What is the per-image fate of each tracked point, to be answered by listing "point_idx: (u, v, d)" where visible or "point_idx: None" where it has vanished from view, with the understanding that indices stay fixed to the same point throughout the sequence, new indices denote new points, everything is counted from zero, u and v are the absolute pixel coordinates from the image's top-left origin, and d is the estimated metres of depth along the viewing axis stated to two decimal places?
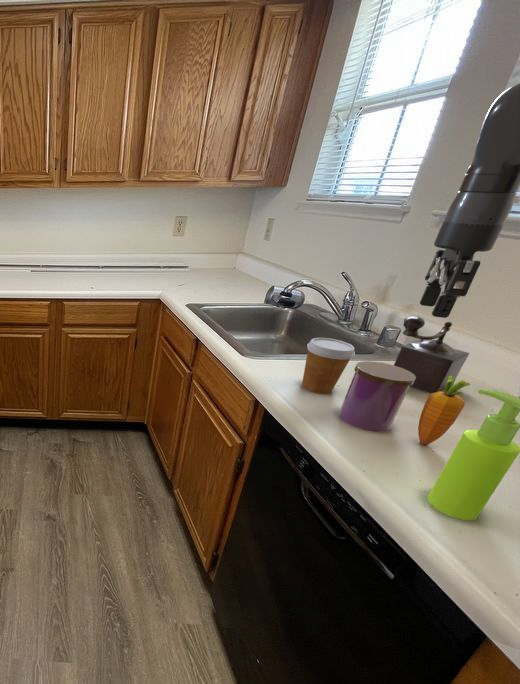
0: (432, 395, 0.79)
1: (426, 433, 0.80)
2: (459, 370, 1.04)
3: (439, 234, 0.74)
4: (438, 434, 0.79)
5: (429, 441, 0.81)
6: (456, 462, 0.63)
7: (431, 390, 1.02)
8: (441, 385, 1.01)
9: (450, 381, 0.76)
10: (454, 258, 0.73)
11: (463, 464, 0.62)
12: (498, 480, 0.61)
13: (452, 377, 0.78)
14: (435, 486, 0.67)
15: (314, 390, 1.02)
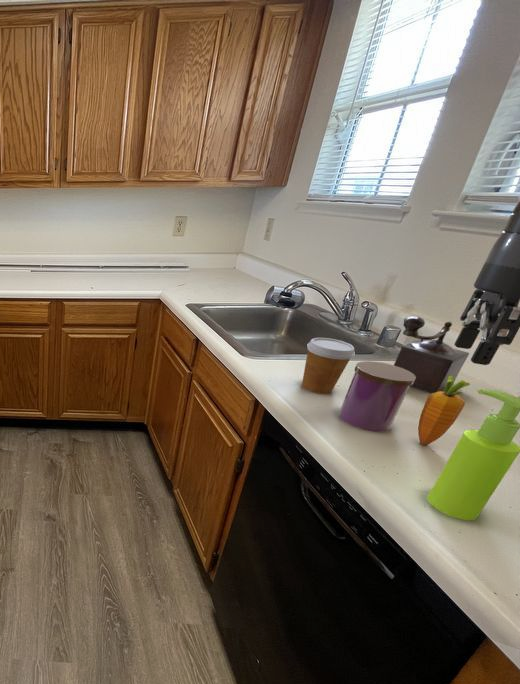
0: (432, 395, 0.79)
1: (426, 433, 0.80)
2: (459, 370, 1.04)
3: (480, 276, 0.69)
4: (438, 434, 0.79)
5: (429, 441, 0.81)
6: (456, 462, 0.63)
7: (431, 390, 1.02)
8: (441, 385, 1.01)
9: (450, 381, 0.76)
10: (497, 303, 0.68)
11: (463, 464, 0.62)
12: (498, 480, 0.61)
13: (452, 377, 0.78)
14: (435, 486, 0.67)
15: (314, 390, 1.02)
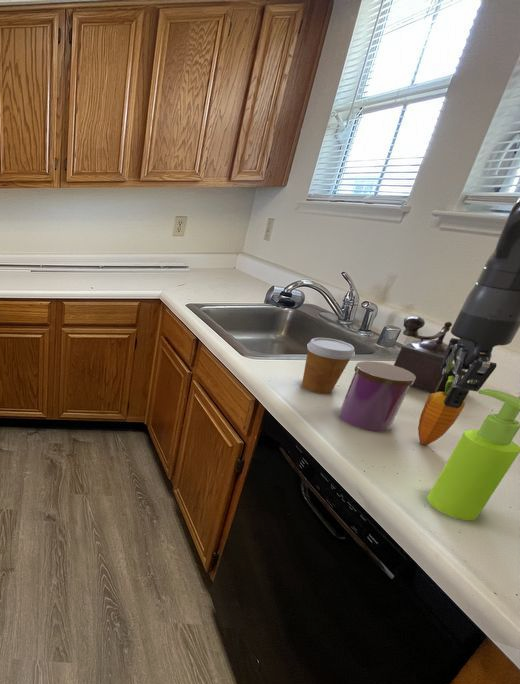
0: (432, 395, 0.79)
1: (426, 433, 0.80)
2: None
3: (456, 323, 0.73)
4: (438, 434, 0.79)
5: (429, 441, 0.81)
6: (456, 462, 0.63)
7: (431, 390, 1.02)
8: None
9: (450, 381, 0.76)
10: (471, 350, 0.72)
11: (463, 464, 0.62)
12: (498, 480, 0.61)
13: (452, 377, 0.78)
14: (435, 486, 0.67)
15: (314, 390, 1.02)
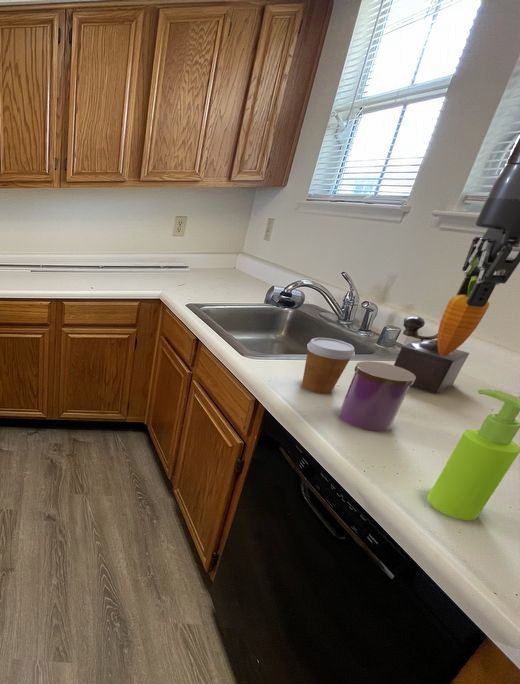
0: (453, 298, 0.73)
1: (446, 341, 0.75)
2: (459, 370, 1.04)
3: (482, 212, 0.68)
4: (459, 340, 0.74)
5: (449, 350, 0.76)
6: (456, 462, 0.63)
7: (431, 390, 1.02)
8: (441, 385, 1.01)
9: (474, 280, 0.71)
10: (499, 239, 0.66)
11: (463, 464, 0.62)
12: (498, 480, 0.61)
13: (475, 277, 0.72)
14: (435, 486, 0.67)
15: (314, 390, 1.02)
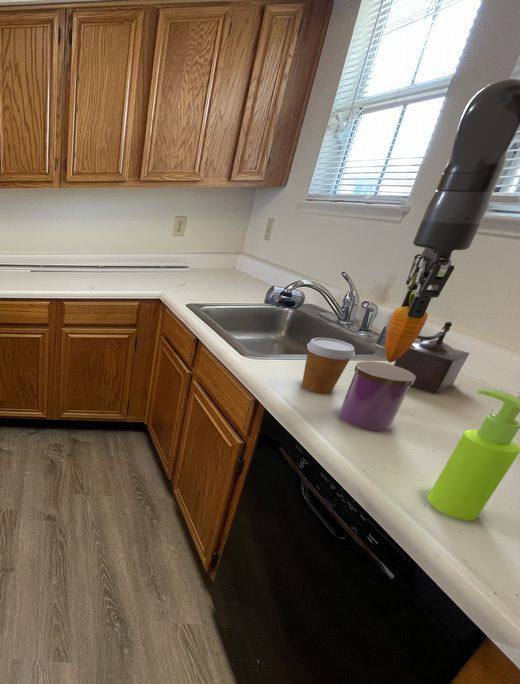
0: (397, 310, 0.81)
1: (392, 348, 0.82)
2: (459, 370, 1.04)
3: (418, 233, 0.75)
4: (403, 348, 0.81)
5: (395, 357, 0.83)
6: (456, 462, 0.63)
7: (431, 390, 1.02)
8: (441, 385, 1.01)
9: (413, 293, 0.78)
10: (432, 257, 0.73)
11: (463, 464, 0.62)
12: (498, 480, 0.61)
13: None
14: (435, 486, 0.67)
15: (314, 390, 1.02)
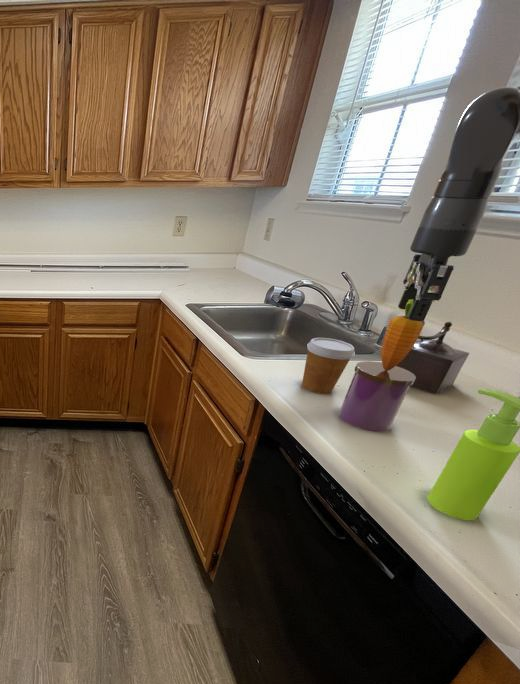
0: (393, 319, 0.81)
1: (388, 357, 0.83)
2: (459, 370, 1.04)
3: (415, 239, 0.75)
4: (399, 357, 0.82)
5: (391, 365, 0.84)
6: (456, 462, 0.63)
7: (431, 390, 1.02)
8: (441, 385, 1.01)
9: (409, 303, 0.79)
10: (428, 263, 0.74)
11: (463, 464, 0.62)
12: (498, 480, 0.61)
13: (412, 300, 0.80)
14: (435, 486, 0.67)
15: (314, 390, 1.02)
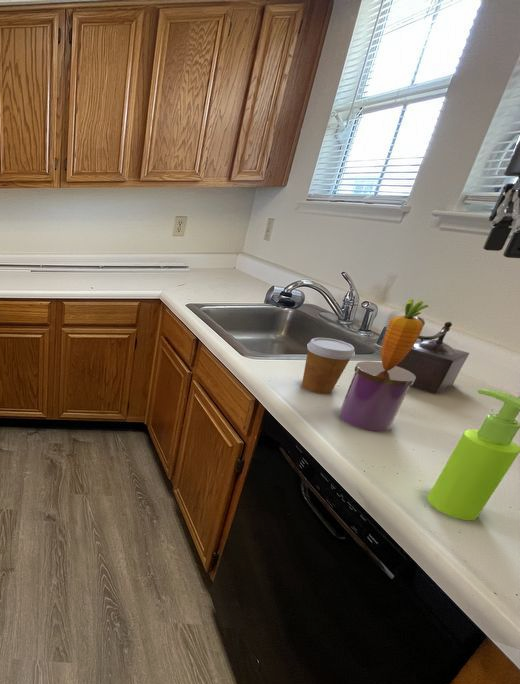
0: (393, 319, 0.81)
1: (388, 357, 0.83)
2: (459, 370, 1.04)
3: (511, 160, 0.64)
4: (399, 357, 0.82)
5: (391, 365, 0.84)
6: (456, 462, 0.63)
7: (431, 390, 1.02)
8: (441, 385, 1.01)
9: (409, 303, 0.79)
10: None
11: (463, 464, 0.62)
12: (498, 480, 0.61)
13: (412, 300, 0.80)
14: (435, 486, 0.67)
15: (314, 390, 1.02)
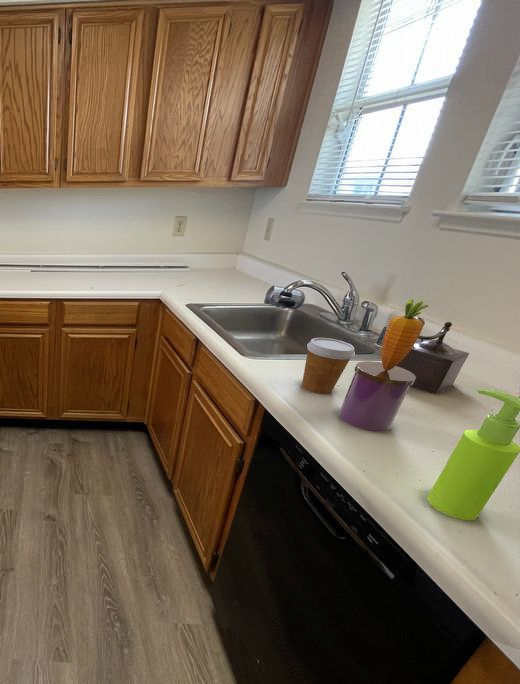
0: (393, 319, 0.81)
1: (388, 357, 0.83)
2: (459, 370, 1.04)
3: None
4: (399, 357, 0.82)
5: (391, 365, 0.84)
6: (456, 462, 0.63)
7: (431, 390, 1.02)
8: (441, 385, 1.01)
9: (409, 303, 0.79)
10: None
11: (463, 464, 0.62)
12: (498, 480, 0.61)
13: (412, 300, 0.80)
14: (435, 486, 0.67)
15: (314, 390, 1.02)
